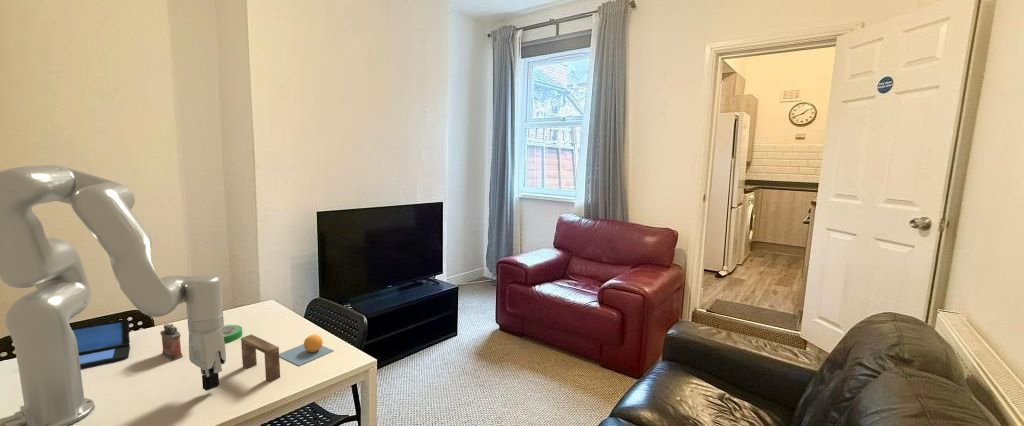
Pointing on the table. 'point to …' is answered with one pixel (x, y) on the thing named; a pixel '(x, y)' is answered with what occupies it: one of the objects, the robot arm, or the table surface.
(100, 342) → the handheld game console
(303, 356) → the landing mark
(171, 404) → the table surface
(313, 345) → the ball
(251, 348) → the bridge
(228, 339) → the tape roll
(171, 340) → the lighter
